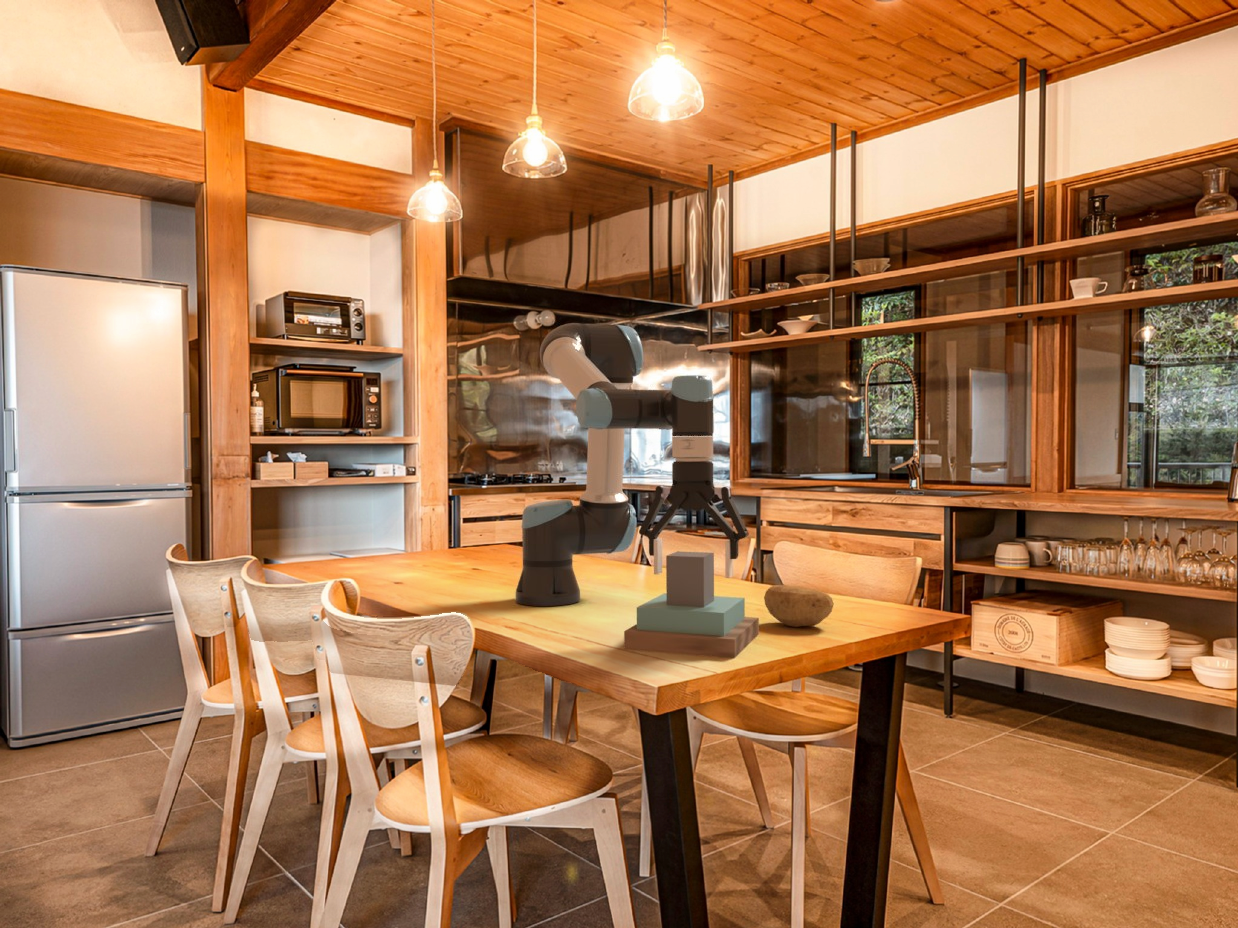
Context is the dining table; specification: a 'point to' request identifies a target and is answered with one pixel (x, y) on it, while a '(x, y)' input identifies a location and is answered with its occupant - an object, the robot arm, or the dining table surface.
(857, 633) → the dining table surface
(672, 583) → the block
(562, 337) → the robot arm
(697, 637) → the block bottom
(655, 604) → the block top
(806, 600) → the potato
